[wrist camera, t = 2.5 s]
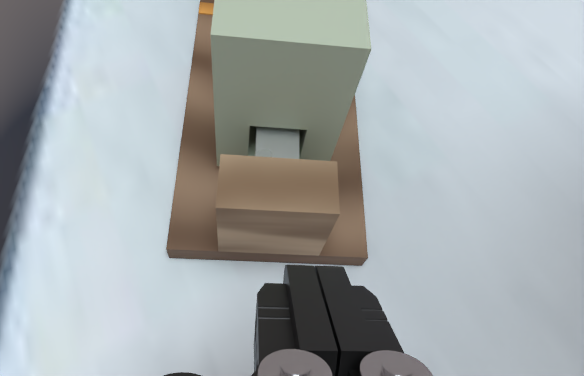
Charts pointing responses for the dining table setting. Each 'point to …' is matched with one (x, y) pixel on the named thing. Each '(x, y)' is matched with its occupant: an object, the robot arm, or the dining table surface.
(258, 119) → the upright sage green block
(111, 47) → the dining table surface
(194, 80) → the wooden slider rail stand
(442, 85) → the dining table surface
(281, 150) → the grey long bar
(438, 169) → the dining table surface
